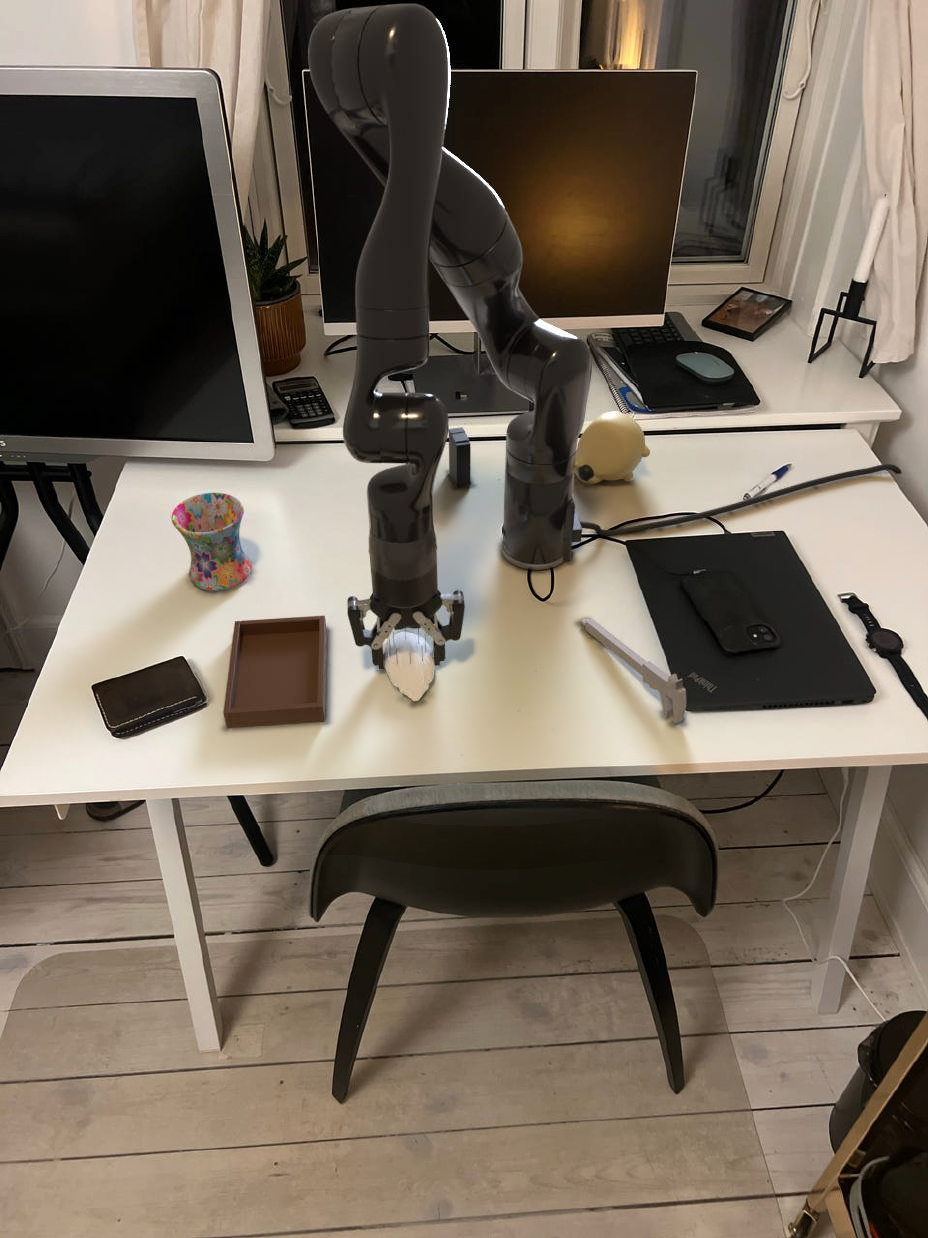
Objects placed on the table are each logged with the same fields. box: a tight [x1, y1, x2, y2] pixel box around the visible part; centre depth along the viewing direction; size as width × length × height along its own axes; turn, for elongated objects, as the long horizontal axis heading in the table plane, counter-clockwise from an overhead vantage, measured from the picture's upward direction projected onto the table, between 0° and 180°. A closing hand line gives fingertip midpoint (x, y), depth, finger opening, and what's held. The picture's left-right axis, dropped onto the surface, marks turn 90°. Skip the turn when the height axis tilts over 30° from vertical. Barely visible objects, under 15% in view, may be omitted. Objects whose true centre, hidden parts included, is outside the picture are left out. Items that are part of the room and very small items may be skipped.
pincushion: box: [383, 628, 436, 702], centre depth 117 cm, size 12×6×6 cm, turn 10°
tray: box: [222, 615, 328, 729], centre depth 117 cm, size 11×16×3 cm
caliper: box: [579, 617, 687, 724], centre depth 117 cm, size 20×1×6 cm, turn 28°
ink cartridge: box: [448, 426, 472, 489], centre depth 148 cm, size 5×2×8 cm, turn 14°
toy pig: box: [574, 410, 651, 485], centre depth 148 cm, size 10×12×11 cm
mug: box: [171, 492, 252, 591], centre depth 130 cm, size 12×9×11 cm
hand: (409, 662), depth 119 cm, fingers closed on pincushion, 6 cm apart
